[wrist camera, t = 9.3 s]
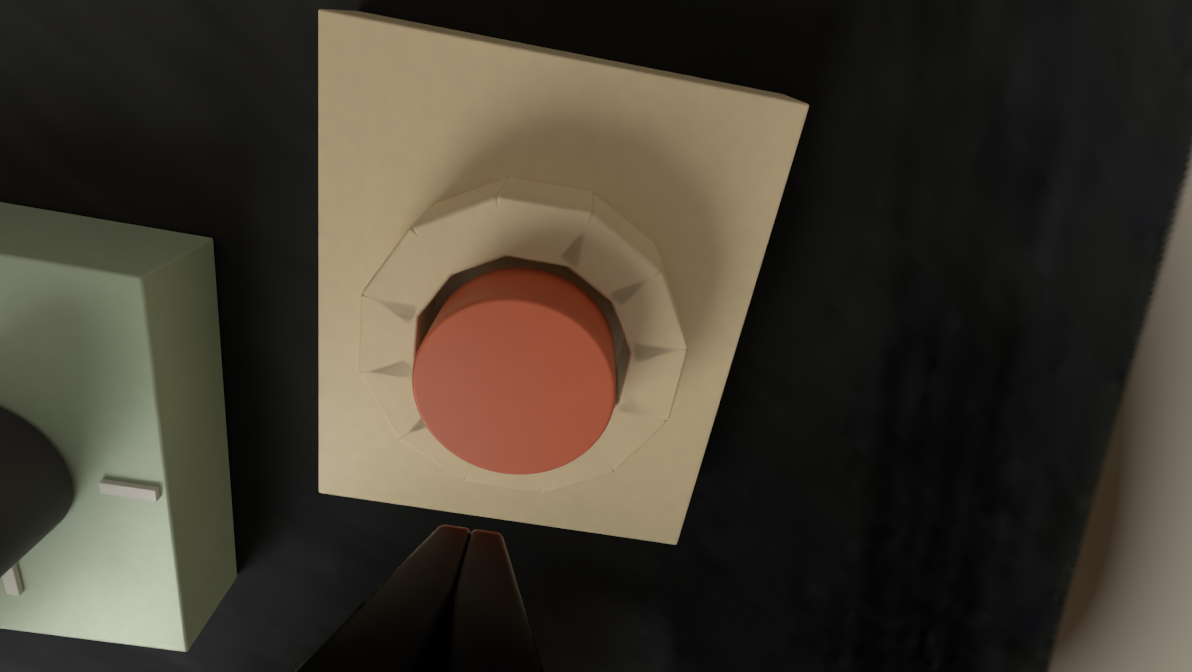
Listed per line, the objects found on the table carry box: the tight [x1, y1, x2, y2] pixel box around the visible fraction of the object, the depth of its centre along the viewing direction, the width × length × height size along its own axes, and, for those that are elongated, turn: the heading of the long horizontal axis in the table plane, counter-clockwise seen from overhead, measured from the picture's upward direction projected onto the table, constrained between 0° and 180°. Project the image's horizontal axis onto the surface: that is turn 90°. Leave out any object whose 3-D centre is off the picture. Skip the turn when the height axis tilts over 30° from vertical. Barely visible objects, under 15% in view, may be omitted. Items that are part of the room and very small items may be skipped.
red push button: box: [412, 267, 616, 475], centre depth 14 cm, size 4×4×2 cm
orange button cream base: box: [318, 9, 809, 545], centre depth 16 cm, size 12×10×4 cm
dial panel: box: [0, 202, 237, 652], centre depth 18 cm, size 12×9×3 cm
